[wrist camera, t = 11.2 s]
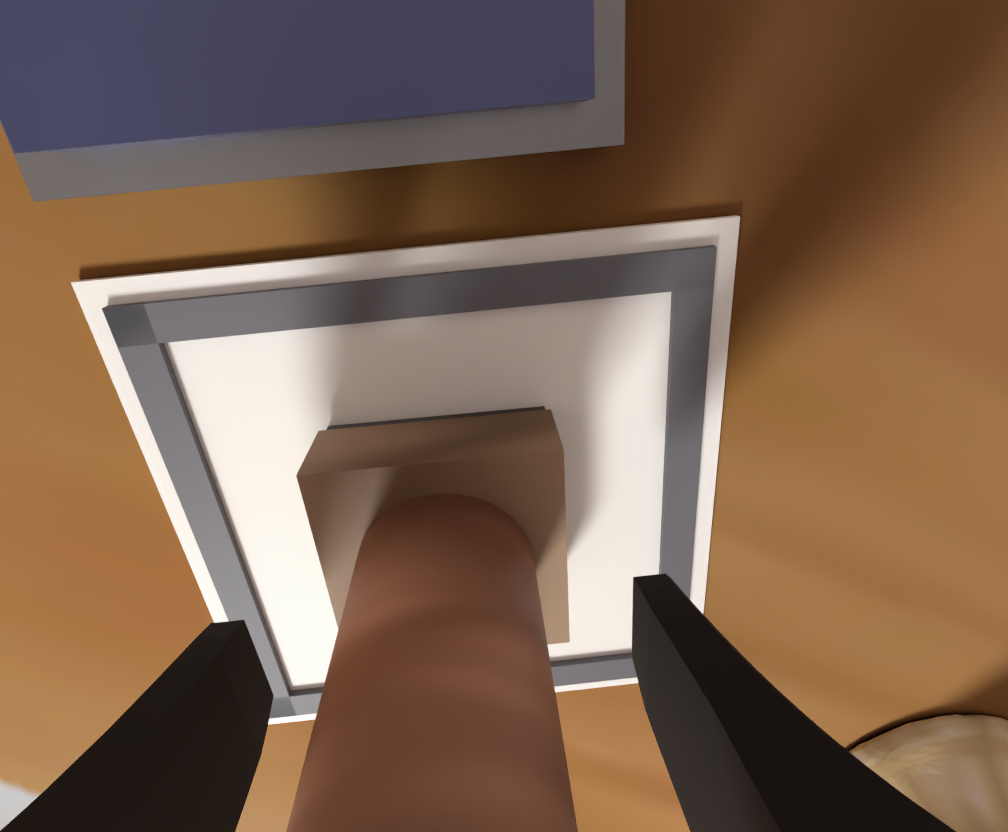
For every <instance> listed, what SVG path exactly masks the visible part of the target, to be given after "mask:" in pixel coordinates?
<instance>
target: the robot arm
mask: <svg viewBox="0 0 1008 832" xmlns="http://www.w3.org/2000/svg"><path fill="white" fill-rule="evenodd" d="M632 659H633V663H634V667H635V671H636V675H637V679H638V683H639V687H640V691H641V694H642V698H643V702H644V706H645V710H646V713H647V715H648V718H649V721H650V724H651V727H652V729H653V732H654V735H655V737H656V740H657V743H658V746H659V748H660V751H661V754H662V756H663V759H664V762H665V764H666V767H667V770H668V772H669V775H670V778H671V781H672V783H673V786H674V789H675V791H676V794H677V797H678V799H679V802H680V805H681V807H682V810H683V813H684V815H685V818H686V821H687V823H688V826H689V829H690V831H691V832H956V831H955V830H953V829H952V828H951V827H949V826H948V825H946V824H945V823H944V822H942V821H941V820H939V819H938V818H936V817H935V816H934V815H932V814H931V813H929V812H928V811H927V810H925V809H924V808H922V807H921V806H919V805H918V804H917V803H915V802H914V801H912V800H911V799H910V798H908V797H907V796H905V795H904V794H903V793H901V792H900V791H899V790H897V789H896V788H895V787H893V786H892V785H891V784H890V783H888V782H887V781H886V780H884V779H883V778H882V777H880V776H879V775H878V774H877V773H875V772H874V771H873V770H871V769H870V768H869V767H867V766H866V765H865V764H864V763H862V762H861V761H860V760H859V759H857V758H856V757H855V756H854V755H852V754H851V753H850V752H849V751H848V750H846V749H845V748H844V747H843V746H841V745H840V744H839V743H838V742H836V741H835V740H834V739H833V738H832V737H830V736H829V735H828V734H827V733H826V732H824V731H823V730H822V729H821V728H820V727H819V726H817V725H816V724H815V723H814V722H813V721H812V720H811V719H809V718H808V717H807V716H806V715H805V714H804V713H803V712H801V711H800V710H799V709H798V708H797V707H796V706H795V705H794V704H793V703H792V702H790V701H789V700H788V699H787V698H786V697H785V696H784V695H783V694H782V693H781V692H780V691H778V690H777V689H776V688H775V687H774V686H773V685H772V684H771V683H770V682H769V681H768V680H767V679H766V678H765V677H764V676H763V675H762V674H761V673H759V672H758V671H757V670H756V669H755V668H754V667H753V666H752V665H751V664H750V663H749V662H748V661H747V660H746V659H745V658H744V657H743V656H742V655H741V654H740V653H739V652H738V651H737V649H736V648H735V647H734V646H733V645H732V644H731V643H730V642H729V641H728V640H727V639H726V638H725V637H724V636H723V635H722V634H721V633H720V632H719V631H718V630H717V629H716V628H715V627H714V626H713V624H712V623H711V622H710V621H709V620H708V619H707V618H706V617H705V616H704V615H703V614H702V613H701V611H700V610H699V609H698V608H697V607H696V606H695V605H694V604H693V602H692V601H691V600H690V599H689V598H688V597H687V596H686V595H685V593H684V592H683V591H682V590H681V589H680V588H679V586H678V585H677V584H676V583H675V582H674V581H673V579H672V578H671V577H669V576H668V575H667V574H657V575H647V576H638V577H633V611H632ZM273 697H274V695H273V692H272V690H271V687H270V685H269V682H268V679H267V677H266V674H265V672H264V669H263V667H262V664H261V661H260V659H259V656H258V654H257V651H256V649H255V646H254V643H253V641H252V638H251V636H250V633H249V631H248V628H247V625H246V623H245V620H236V621H227V622H218V623H211V624H210V625H209V626H208V627H207V628H206V629H205V630H204V631H203V632H202V633H201V634H200V635H199V636H198V637H197V638H196V639H195V640H194V641H193V642H192V643H191V644H190V645H189V646H188V647H187V648H186V649H185V650H184V651H183V652H182V653H181V655H180V656H179V657H178V658H177V659H176V660H175V661H174V662H173V663H172V664H171V665H170V666H169V667H168V668H167V669H166V670H165V671H164V672H163V673H162V675H161V676H160V677H159V678H158V679H157V680H156V681H155V682H154V683H153V684H152V685H151V686H150V687H149V688H148V689H147V690H146V691H145V692H144V693H143V694H142V695H141V696H140V697H139V698H138V699H137V700H136V701H135V703H134V704H133V705H132V706H131V707H130V708H129V709H128V710H127V711H126V712H125V713H124V714H123V715H122V716H121V717H120V718H119V719H118V720H117V721H116V722H115V723H114V724H113V725H112V726H111V727H110V728H109V729H108V730H107V731H106V732H105V733H104V734H103V735H102V736H101V737H100V738H99V739H98V740H97V741H96V742H95V743H94V744H93V745H92V746H91V747H90V748H89V749H88V750H87V751H86V752H85V753H83V754H82V755H81V756H80V757H79V758H78V759H77V760H76V761H75V762H74V763H73V764H72V765H71V766H70V767H69V768H68V769H67V770H66V771H65V772H64V773H63V774H62V775H61V776H60V777H59V778H58V779H57V780H55V781H54V782H53V783H52V784H51V785H50V786H49V787H48V788H47V789H46V790H45V791H44V792H43V793H42V794H41V795H40V796H39V797H37V798H36V799H35V800H34V801H33V802H32V803H31V804H30V805H29V806H28V807H27V808H26V809H24V810H23V811H22V812H21V813H20V814H19V815H18V816H17V817H15V818H14V819H13V820H12V821H11V822H10V823H9V824H8V825H7V826H6V827H4V828H3V829H2V830H1V831H0V832H235V830H236V827H237V824H238V821H239V819H240V816H241V813H242V810H243V807H244V804H245V801H246V798H247V795H248V792H249V789H250V786H251V783H252V780H253V777H254V774H255V771H256V768H257V765H258V762H259V759H260V756H261V753H262V748H263V744H264V740H265V735H266V731H267V727H268V722H269V717H270V712H271V707H272V702H273Z"/></svg>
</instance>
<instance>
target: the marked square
mask: <svg viewBox="0 0 1008 832" xmlns="http://www.w3.org/2000/svg"><path fill="white" fill-rule="evenodd" d="M739 224H740V216H737V215H733V216H723V217H713V218H702V219H692V220H682V221H672V222H662V223H652V224H642V225H632V226H622V227H611V228H601V229H591V230H581V231H571V232H561V233H551V234H541V235H530V236H520V237H510V238H500V239H490V240H480V241H470V242H460V243H450V244H439V245H429V246H419V247H409V248H399V249H389V250H379V251H369V252H359V253H348V254H338V255H328V256H318V257H308V258H298V259H288V260H278V261H268V262H257V263H247V264H237V265H227V266H217V267H207V268H197V269H187V270H177V271H166V272H156V273H146V274H136V275H126V276H116V277H106V278H96V279H86V280H77V281H74V282H71V284H72V286H73V289H74V291H75V293H76V296H77V298H78V300H79V303H80V305H81V308H82V310H83V312H84V315H85V317H86V319H87V322H88V324H89V327H90V329H91V331H92V334H93V336H94V338H95V341H96V343H97V346H98V348H99V350H100V353H101V355H102V357H103V360H104V362H105V365H106V367H107V369H108V372H109V374H110V376H111V379H112V381H113V384H114V386H115V388H116V391H117V393H118V395H119V398H120V400H121V402H122V405H123V407H124V410H125V412H126V414H127V417H128V419H129V421H130V424H131V426H132V429H133V431H134V433H135V436H136V438H137V440H138V443H139V445H140V448H141V450H142V452H143V455H144V457H145V459H146V462H147V464H148V467H149V469H150V471H151V474H152V476H153V478H154V481H155V483H156V486H157V488H158V490H159V493H160V495H161V497H162V500H163V502H164V504H165V507H166V509H167V512H168V514H169V516H170V519H171V521H172V523H173V526H174V528H175V531H176V533H177V535H178V538H179V540H180V542H181V545H182V547H183V550H184V552H185V554H186V557H187V559H188V561H189V564H190V566H191V569H192V571H193V573H194V576H195V578H196V580H197V583H198V585H199V588H200V590H201V592H202V595H203V597H204V599H205V602H206V604H207V606H208V609H209V611H210V614H211V616H212V618H213V621H214V623H218V622H227V621H236V620H245V623H246V625H247V628H248V631H249V633H250V636H251V638H252V641H253V643H254V646H255V649H256V651H257V654H258V656H259V659H260V661H261V664H262V667H263V669H264V672H265V674H266V677H267V679H268V682H269V685H270V687H271V690H272V692H273V695H274V697H273V702H272V707H271V712H270V717H269V722H268V725H269V724H278V723H287V722H296V721H305V720H314V719H316V715H317V711H318V707H319V703H320V699H321V695H322V691H323V688H324V684H325V680H326V676H327V672H328V668H329V664H330V660H331V656H332V653H333V649H334V645H335V641H336V637H337V633H338V626H337V623H336V619H335V615H334V612H333V608H332V604H331V601H330V597H329V593H328V590H327V586H326V582H325V579H324V575H323V572H322V568H321V564H320V561H319V557H318V553H317V550H316V546H315V542H314V539H313V535H312V531H311V528H310V524H309V521H308V517H307V513H306V510H305V506H304V502H303V499H302V495H301V491H300V488H299V484H298V481H297V477H296V475H297V473H298V471H299V469H300V467H301V465H302V463H303V461H304V459H305V457H306V455H307V453H308V451H309V449H310V447H311V445H312V443H313V441H314V439H315V437H316V435H317V433H318V431H321V430H326V429H327V427H328V426H333V425H344V424H355V423H366V422H377V421H388V420H399V419H409V418H420V417H431V416H442V415H453V414H464V413H475V412H485V411H496V410H507V409H518V408H529V407H540V406H544V407H545V410H549V409H551V411H552V414H553V417H554V421H555V424H556V427H557V430H558V433H559V437H560V440H561V443H562V446H563V449H564V472H565V505H566V538H567V571H568V604H569V636H570V642H568V643H558V644H548V651H549V657H550V664H551V670H552V676H553V682H554V688H555V692H562V691H571V690H580V689H589V688H598V687H607V686H616V685H624V684H633V683H638V679H637V675H636V671H635V667H634V663H633V659H632V611H633V577H638V576H647V575H657V574H667V575H668V576H669V577H671V578H672V579H673V581H674V582H675V583H676V584H677V585H678V586H679V588H680V589H681V590H682V591H683V592H684V593H685V595H686V596H687V597H688V598H689V599H690V600H691V601H692V602H693V604H694V605H695V606H696V607H697V608H698V609H699V610H700V611H701V613H702V614H703V613H704V602H705V591H706V580H707V570H708V559H709V548H710V537H711V526H712V516H713V505H714V494H715V483H716V472H717V462H718V451H719V440H720V429H721V418H722V408H723V397H724V386H725V375H726V364H727V353H728V343H729V332H730V321H731V310H732V299H733V289H734V278H735V267H736V256H737V245H738V235H739Z"/></svg>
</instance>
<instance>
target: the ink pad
mask: <svg viewBox="0 0 1008 832" xmlns="http://www.w3.org/2000/svg"><path fill="white" fill-rule="evenodd" d="M0 123H1V125H2V127H3V130H4V132H5V134H6V137H7V139H8V141H9V144H10V146H11V148H12V151H13V153H14V156H15V158H16V160H17V163H18V165H19V167H20V170H21V172H22V174H23V177H24V179H25V182H26V184H27V186H28V189H29V191H30V193H31V196H32V198H33V200H34V202H35V201H45V200H55V199H66V198H76V197H87V196H97V195H107V194H118V193H128V192H138V191H149V190H159V189H169V188H180V187H190V186H201V185H211V184H221V183H232V182H242V181H252V180H263V179H273V178H284V177H294V176H304V175H315V174H325V173H335V172H346V171H356V170H366V169H377V168H387V167H398V166H408V165H418V164H429V163H439V162H449V161H460V160H470V159H481V158H491V157H501V156H512V155H522V154H532V153H543V152H553V151H563V150H574V149H584V148H595V147H605V146H615V145H624V123H625V0H0Z"/></svg>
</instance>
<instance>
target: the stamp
mask: <svg viewBox="0 0 1008 832" xmlns="http://www.w3.org/2000/svg"><path fill="white" fill-rule="evenodd" d="M296 477H297V481H298V484H299V488H300V491H301V495H302V499H303V502H304V506H305V510H306V513H307V517H308V521H309V524H310V528H311V531H312V535H313V539H314V542H315V546H316V550H317V553H318V557H319V561H320V564H321V568H322V572H323V575H324V579H325V582H326V586H327V590H328V593H329V597H330V601H331V604H332V608H333V612H334V615H335V619H336V623H337V626H338V633H337V637H336V641H335V645H334V649H333V653H332V656H331V660H330V664H329V668H328V672H327V676H326V680H325V684H324V688H323V691H322V695H321V699H320V703H319V707H318V711H317V715H316V719H315V723H314V726H313V730H312V734H311V738H310V742H309V746H308V750H307V754H306V758H305V761H304V765H303V769H302V773H301V777H300V781H299V785H298V789H297V792H296V796H295V800H294V804H293V808H292V812H291V816H290V820H289V824H288V827H287V831H286V832H578V830H577V824H576V818H575V812H574V806H573V799H572V793H571V787H570V781H569V775H568V769H567V762H566V756H565V750H564V744H563V738H562V731H561V725H560V719H559V713H558V707H557V701H556V694H555V688H554V682H553V676H552V670H551V664H550V657H549V651H548V644H558V643H568V642H570V636H569V604H568V571H567V538H566V505H565V472H564V449H563V446H562V443H561V440H560V437H559V433H558V430H557V427H556V424H555V421H554V417H553V414H552V411H551V409H549V410H545V407H544V406H540V407H529V408H518V409H507V410H496V411H485V412H475V413H464V414H453V415H442V416H431V417H420V418H409V419H399V420H388V421H377V422H366V423H355V424H344V425H333V426H328V427H327V429H326V430H321V431H318V433H317V435H316V437H315V439H314V441H313V443H312V445H311V447H310V449H309V451H308V453H307V455H306V457H305V459H304V461H303V463H302V465H301V467H300V469H299V471H298V473H297V475H296Z"/></svg>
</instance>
